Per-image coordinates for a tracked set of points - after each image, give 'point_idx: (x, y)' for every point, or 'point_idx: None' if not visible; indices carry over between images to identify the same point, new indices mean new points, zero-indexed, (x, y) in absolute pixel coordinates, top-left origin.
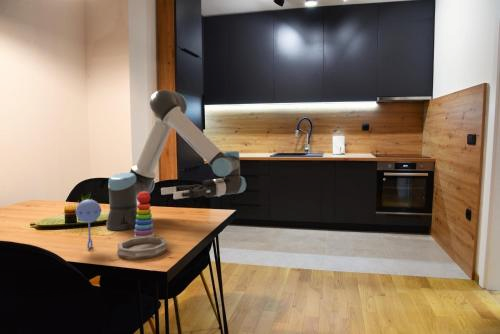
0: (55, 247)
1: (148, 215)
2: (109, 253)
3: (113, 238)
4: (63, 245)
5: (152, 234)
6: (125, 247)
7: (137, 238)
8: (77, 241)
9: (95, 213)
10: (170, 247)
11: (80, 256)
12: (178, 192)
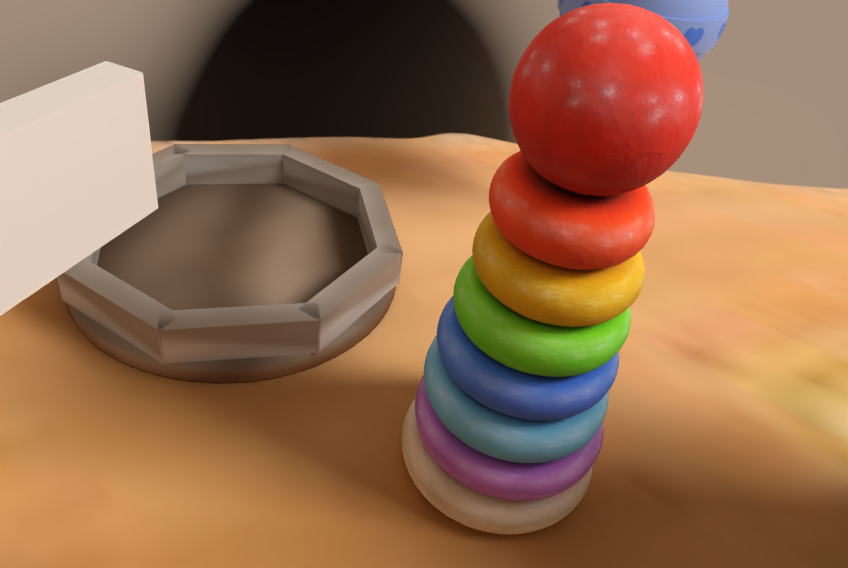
0: (710, 189)
1: (462, 279)
2: (398, 206)
3: (673, 359)
4: (721, 210)
5: (413, 448)
6: (363, 237)
7: (355, 264)
8: (756, 259)
9: (559, 2)
10: (84, 375)
11: (480, 160)
12: (16, 110)
